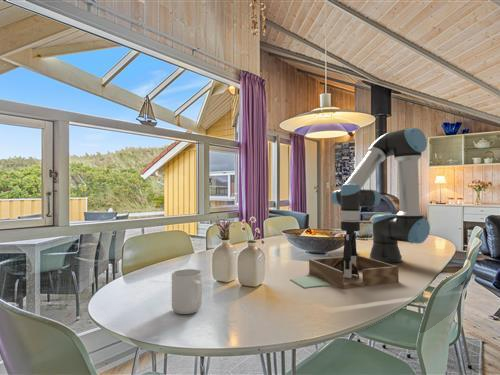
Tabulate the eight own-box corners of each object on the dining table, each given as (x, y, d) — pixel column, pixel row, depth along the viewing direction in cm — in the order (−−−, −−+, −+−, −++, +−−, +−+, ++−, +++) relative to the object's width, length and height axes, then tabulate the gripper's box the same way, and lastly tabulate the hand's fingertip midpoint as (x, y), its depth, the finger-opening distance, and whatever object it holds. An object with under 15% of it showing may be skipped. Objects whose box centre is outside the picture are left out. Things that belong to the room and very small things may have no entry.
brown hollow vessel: (363, 281, 124) (353, 265, 122) (341, 290, 126) (331, 274, 125) (357, 265, 135) (348, 250, 134) (337, 274, 138) (328, 259, 136)
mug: (166, 309, 95) (166, 272, 95) (191, 302, 101) (191, 267, 101) (186, 320, 86) (186, 280, 87) (213, 312, 92) (213, 274, 92)
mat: (314, 277, 130) (314, 276, 130) (330, 285, 119) (330, 284, 119) (290, 279, 126) (290, 278, 127) (304, 288, 115) (304, 287, 115)
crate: (359, 268, 145) (358, 255, 145) (398, 281, 122) (398, 266, 122) (309, 273, 137) (309, 259, 137) (341, 288, 114) (341, 272, 114)
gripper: (345, 219, 142) (345, 268, 141) (335, 222, 121) (335, 279, 120) (363, 220, 139) (363, 269, 138) (355, 222, 117) (355, 281, 116)
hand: (350, 274), depth 129 cm, fingers closed on brown hollow vessel, 11 cm apart
